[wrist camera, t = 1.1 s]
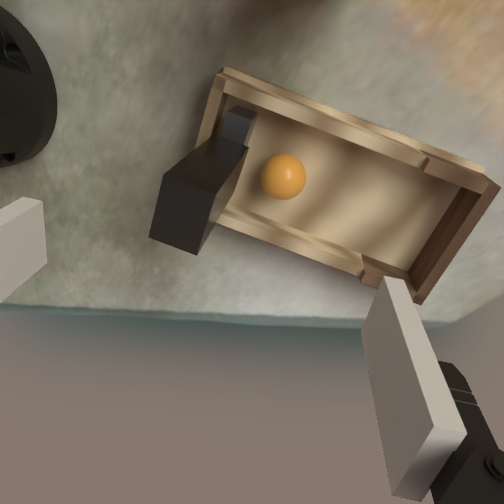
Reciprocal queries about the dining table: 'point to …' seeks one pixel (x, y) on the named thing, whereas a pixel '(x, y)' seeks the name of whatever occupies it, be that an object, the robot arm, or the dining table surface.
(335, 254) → the tray
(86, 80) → the dining table surface
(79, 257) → the dining table surface
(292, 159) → the ball
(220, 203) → the block
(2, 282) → the robot arm
